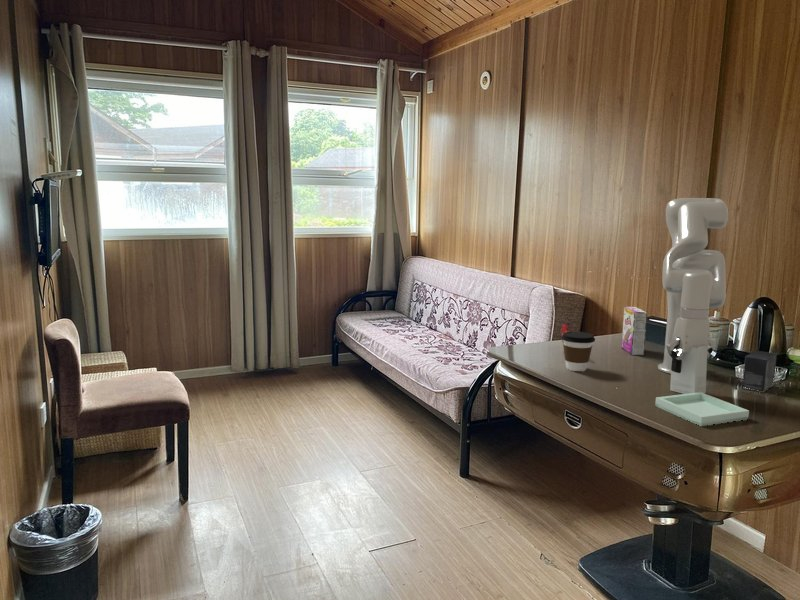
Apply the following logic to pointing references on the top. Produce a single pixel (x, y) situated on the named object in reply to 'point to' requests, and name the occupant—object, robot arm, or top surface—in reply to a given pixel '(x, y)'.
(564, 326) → the decorative bird figurine
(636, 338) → the candy bar box
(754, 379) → the small box
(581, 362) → the coffee cup
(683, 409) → the tray
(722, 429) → the top surface
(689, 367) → the skincare box
